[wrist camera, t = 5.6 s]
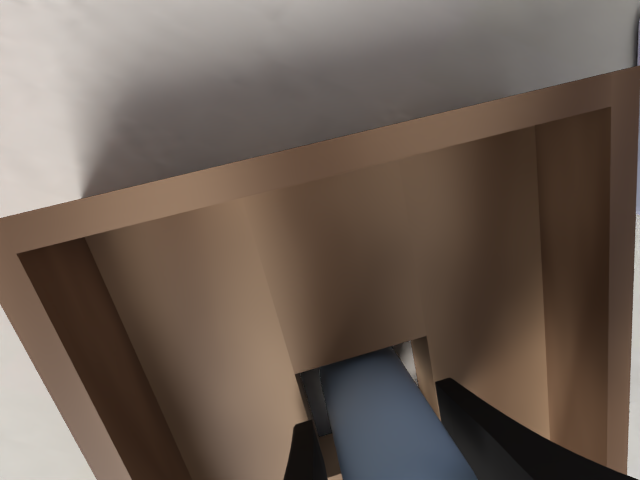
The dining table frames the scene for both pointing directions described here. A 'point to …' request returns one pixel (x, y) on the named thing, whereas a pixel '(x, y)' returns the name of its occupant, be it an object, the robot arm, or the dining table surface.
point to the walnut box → (344, 284)
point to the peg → (386, 423)
